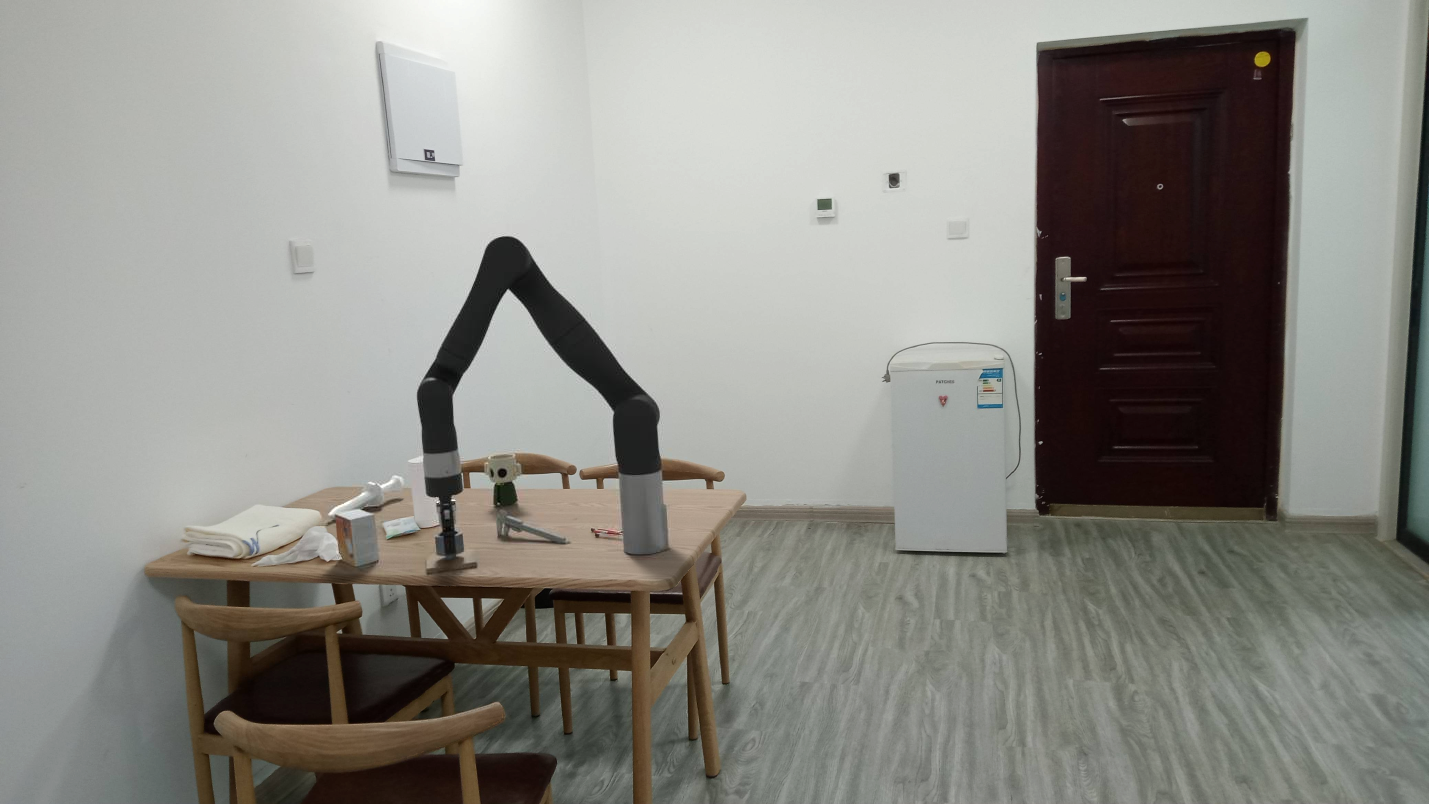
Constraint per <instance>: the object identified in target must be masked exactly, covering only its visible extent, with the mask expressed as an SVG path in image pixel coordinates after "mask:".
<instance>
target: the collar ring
mask: <svg viewBox="0 0 1429 804" xmlns="http://www.w3.org/2000/svg"><path fill="white" fill-rule="evenodd" d="M455 531H456V534H455V545H456V553H455V554H449V555H446V554H445V546H444V538H443V536H442V533H443V532H442V530H441V531H439V532H436V533H434V540H435V551H436V553H437V555H438V556H452V555H457V554H460V553H462V552H464V550H465V545H464V535H463V533H464V532H463V530H461V529H455ZM436 553H435V554H436Z"/></svg>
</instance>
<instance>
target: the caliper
mask: <svg viewBox="0 0 1429 804" xmlns="http://www.w3.org/2000/svg"><path fill="white" fill-rule="evenodd" d="M507 513H508V511H507V510H505V511H504V509H500V510H499V513H497V515H496V521H495V523H496V525H495V526H496V533H497V535H498V536H501V535H502V534H503V536H504V537H506V536H508V535H509V534H510V533H509V532H510V530H512V531H514V532H517V533H521V532H523V531H524V532H526V533H529V534H530V535H531V534H532V535H534V536H537V537H541V538H543V539H547V540H549V541H551V542H554V543H556V544H557V543H558V544H565V545H568V544H570V543H571V541H570V540H568V539H567V537H566V536H562V535H560V534H558V533H555V532H552V531H550V530H546V529H543V528H540V527H537V526H534V525H531V524H528V523H525V522H524V520H522V519H520V518H519V519H518V518H516V517H513V516H511V515H507Z"/></svg>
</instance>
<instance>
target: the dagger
mask: <svg viewBox="0 0 1429 804" xmlns="http://www.w3.org/2000/svg"><path fill="white" fill-rule="evenodd" d="M404 487H405V483H404V479H403V477H401V476H398V475H392V477H391V478H390V479H389V480H388V481H387V483H383V484H381V485H380V484H379V483H378V482H373V481H368V482H367V483H366V484H365V485H364V487H363V488H362V490H361V494H360V495H357V496H355V497H354V498H352V499H350V500H348V501H346V502H345V503H343V504H341V505H338V506H336V507H334V508H333V509H332V510H331V511H330V512H329V513H328V514H327V517H328V518H329V519H330V520H335V514H337V513H342V512H346V511H351V510H355V509H360V510H362V509H363V508H364V507H365V506H368V505H380V506H381V504H382V503H383V501H384V500H385V499H386V497H385V496H386V494H388V493H389V492H390V491H394V492H395V493H399V492H401V491H402V490H403V488H404ZM367 504H368V505H367Z"/></svg>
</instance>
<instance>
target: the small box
mask: <svg viewBox="0 0 1429 804" xmlns="http://www.w3.org/2000/svg"><path fill="white" fill-rule="evenodd" d="M334 520H335V529H336V539H337V548H338V555H339V554H340V555H341V557H342V560H341V562H344V563H346V564H348V565H351V566H352V567H354V568H357V566H358V567H360V566H365V565H369V564H371V562H372V563H375V562H374V561H376V562H378V561H377V560H379V561H380V556H379V555H380V554H379V544H378V543H379V542H378V536H377V535H378V533H377V525H376V524H377V523H376V514H374V513H371V512H368V511H365V510H363V509H355V510H351V511H346V512H342V513H337V514H335V519H334Z"/></svg>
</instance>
